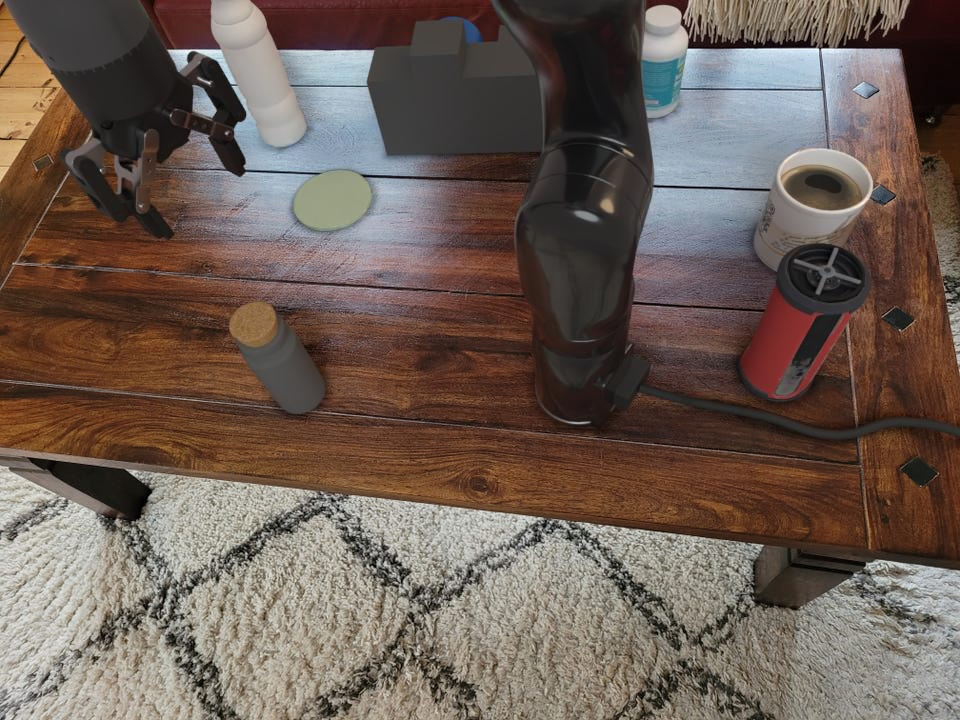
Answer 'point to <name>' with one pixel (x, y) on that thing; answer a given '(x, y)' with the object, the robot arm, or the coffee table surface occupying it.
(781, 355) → the speaker
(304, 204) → the coaster
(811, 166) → the mug
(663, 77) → the pill bottle
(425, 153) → the camera
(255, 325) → the bottle
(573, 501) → the coffee table surface
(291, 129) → the water bottle
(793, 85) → the coffee table surface
